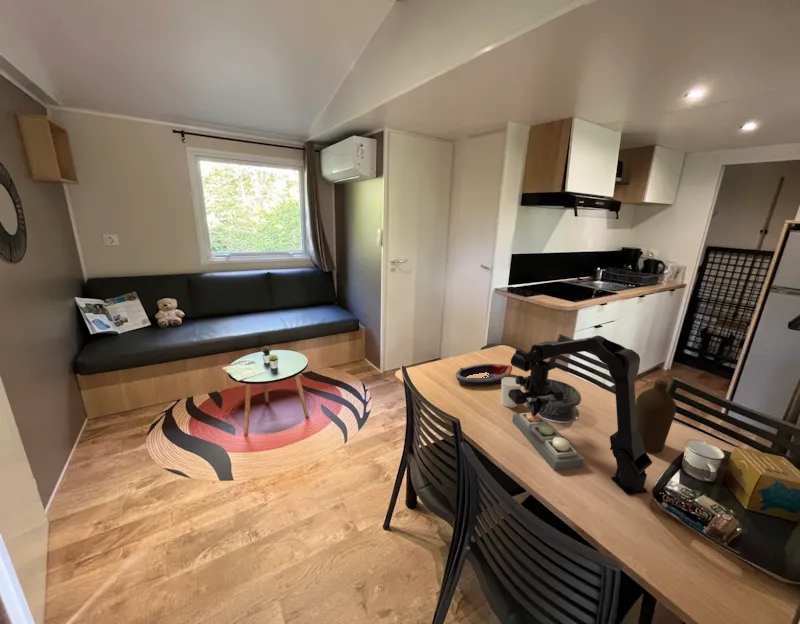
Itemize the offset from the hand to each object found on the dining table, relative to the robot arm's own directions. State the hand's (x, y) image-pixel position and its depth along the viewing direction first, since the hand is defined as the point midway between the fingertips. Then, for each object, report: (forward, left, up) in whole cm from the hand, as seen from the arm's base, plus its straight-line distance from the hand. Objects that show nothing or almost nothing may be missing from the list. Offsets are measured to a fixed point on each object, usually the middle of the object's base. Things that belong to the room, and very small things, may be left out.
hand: (533, 415), depth 123 cm
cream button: (-16, 0, -1) cm, 16 cm away
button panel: (-8, 0, -5) cm, 9 cm away
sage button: (-8, 0, -1) cm, 8 cm away
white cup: (+17, 0, -5) cm, 18 cm away
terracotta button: (0, 0, -2) cm, 2 cm away
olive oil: (-15, -34, -5) cm, 38 cm away
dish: (+39, +1, -6) cm, 39 cm away
